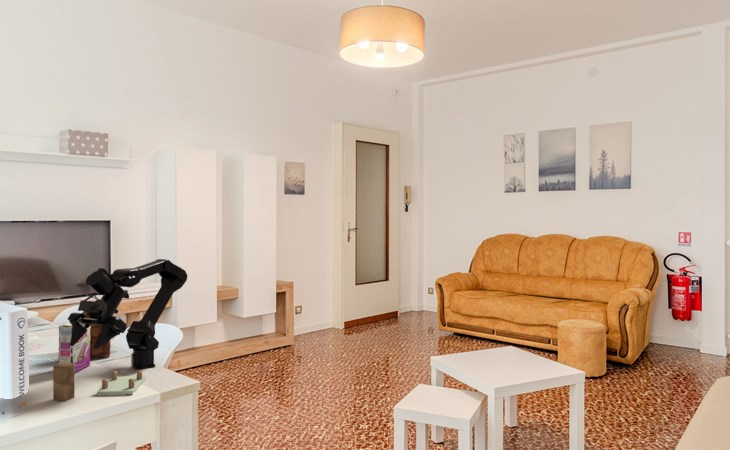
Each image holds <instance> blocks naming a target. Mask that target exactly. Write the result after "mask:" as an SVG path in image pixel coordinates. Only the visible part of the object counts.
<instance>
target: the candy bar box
mask: <svg viewBox="0 0 730 450" xmlns="http://www.w3.org/2000/svg"><path fill="white" fill-rule="evenodd" d="M72 330H73V327H72V324H71V323H70V321H68V322H66V323H63V324H60V325H58V364H60V363H63V362H65V363H74V375H75V374H77V373H78V372H80V371H82V370H84V369H85V368H87V367H90V365H91V359H90V335H91V334H90V333H91V325H90V327H89V328H87V330H88V331H87V332H86V333H85V334H84V335H83V336H82V337H81V338H80V340H79V341H78V342H77V343H76V344H75V345H74V346H70V341H71V336H72Z"/></svg>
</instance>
